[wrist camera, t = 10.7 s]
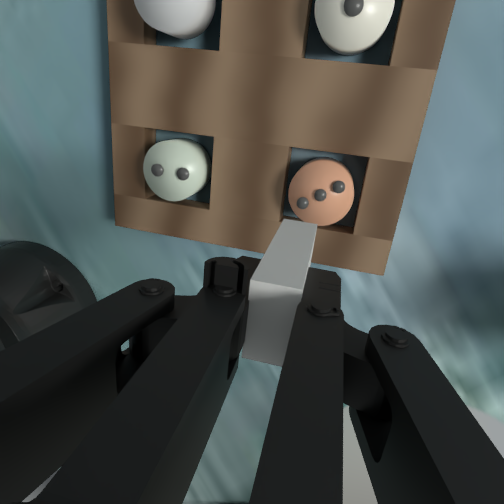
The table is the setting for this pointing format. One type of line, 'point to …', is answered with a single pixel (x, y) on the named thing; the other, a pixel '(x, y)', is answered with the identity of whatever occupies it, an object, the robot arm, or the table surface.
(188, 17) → the button blank
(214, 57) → the panel
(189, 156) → the button two
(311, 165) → the button three
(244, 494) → the table surface
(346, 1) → the button one
